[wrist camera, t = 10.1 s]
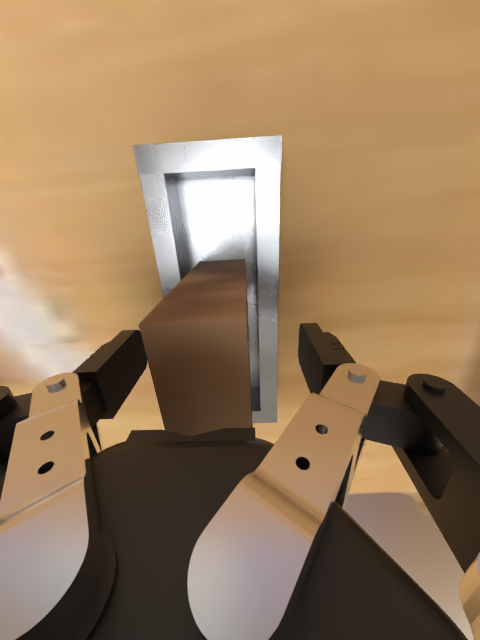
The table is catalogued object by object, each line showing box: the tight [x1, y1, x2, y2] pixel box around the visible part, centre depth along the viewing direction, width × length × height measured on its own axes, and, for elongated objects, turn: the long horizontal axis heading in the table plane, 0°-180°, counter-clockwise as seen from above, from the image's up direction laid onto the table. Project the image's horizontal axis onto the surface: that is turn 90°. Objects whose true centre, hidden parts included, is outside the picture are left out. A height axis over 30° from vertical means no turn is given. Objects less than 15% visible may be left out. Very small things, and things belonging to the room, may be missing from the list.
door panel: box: [139, 259, 253, 436], centre depth 13 cm, size 3×8×10 cm, turn 3°
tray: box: [133, 135, 282, 423], centre depth 16 cm, size 7×18×4 cm, turn 3°
